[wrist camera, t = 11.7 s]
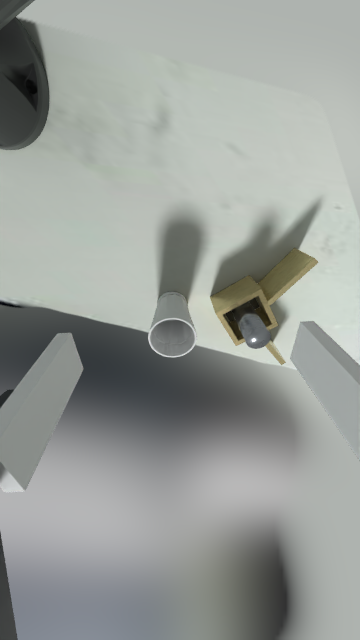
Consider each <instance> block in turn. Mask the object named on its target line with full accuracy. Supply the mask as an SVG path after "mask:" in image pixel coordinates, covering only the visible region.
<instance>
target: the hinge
mask: <svg viewBox="0 0 360 640" xmlns="http://www.w3.org/2000/svg"><path fill="white" fill-rule="evenodd" d="M317 263H318V261H317V260H316V259H315V258H313V257H311V256H309V255H307V254H305V253H303V252H301V251H299V250H297V249H296V248H294V249H293V250H292V251H291V252H290V253H289V254H288V255H287V256H286V257H285V258H284V259H283V260H282V261H281V262H280V263H278V264H277V265H276V266H275V267H274V268H273V269H272V270H271V271H270V272H269V273H268V274H267V275H266V276H265V277H264V278H263V279H262V280H261V281H260V282H259V283H258V284H257V283H256V282H255V281H254V280H253V279H252V278H251V276H250V275H248V276H247V277H245V278H243V279H241V280H239V281H238V282H236V283H234V284H232V285H231V286H229V287H227V288H225V289H223V290H222V291H220V292H218V293H216V294H215V295H213V296H211V297H210V298H211V301H212V304H213V307H214V310H215V313H216V315H217V316H218V318H219V320H220V321H221V323H222V324H223V326H224V328H225V329H226V331H227V332H228V334H229V336H230V337H231V339H232V340H233V342H234V344H235V345H236V346H237V345H239V344H241V343H243V342H245V339H244V337H243V335H242V333H241V331H240V328H239V326H238V324H237V322H236V320H234V321H232V322H230V321H229V319H228V318H227V316H226V314H225V313H227V312H229V311H231V310H232V309H234V308H236V307H238V306H240V305H242V304H244V303H246V302H247V301H249V300H251V299H253V298H256V300H257V302H258V304H259V306H260V307H259V308H257V309H255V311H256V313H257V314H258V316H259V317H260V319H261V320H262V322H263V323H264V325H265V326H266V328H267V329H268V330H270V329H272V328H274V327H276V326H279V325H278V323H277V321H276V319H275V317H274V315H273V313H272V311H271V308H270V306H269V305H271V304H273V303H274V302H275V301H276V300H277V299H278V298H279V297H280V296H281V295H283V294H284V293H285V292H286V291H287V290H288V289H289V288H290V287H291V286H293V285H294V284H295V283H296V282H297V281H298V280H299V279H300V278H302V277H303V276H304V275H305V274H306V273H307V272H308V271H309V270H310V269H312V268H313V267H314V266H315V265H316V264H317ZM265 346H266V347H267V349H268V350H269V351H270V352H271V353H272V354H273V356H274V357H275V358H276V359H277V360H278V361H279V363H280V364H281V365H282V364H284V363H286V362H285V361H284V359H283V357H282V356H281V354H280V353H279V351H278V350H277V348H276V347H275V345H274V343H273V342H272V341H271V340H270V341H269V343H268V344H267V345H265Z"/></svg>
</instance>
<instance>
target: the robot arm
mask: <svg viewBox="0 0 360 640" xmlns="http://www.w3.org/2000/svg"><path fill="white" fill-rule="evenodd" d="M33 1H34V0H0V149H4V150H16V149H21V148H24V147H26V146H28V145H30V144H31V143H33V142H34V141H35V140H36V139H37V138H38V136H39V135H40V134H41V132H42V130H43V128H44V126H45V123H46V120H47V116H48V110H49V91H48V83H47V78H46V74H45V70H44V67H43V64H42V61H41V58H40V56H39V54H38V51H37V49H36V47H35V45H34V43H33V41H32V40H31V38H30V36H29V34H28V33H27V31H26V30H25V28H24V27H23V25H22V24H21V23H20V22H19V20H18V19H17V18H16V16H17V15H18V14H19V13H20V12H22V10H24V9H25V8H26V7H27V6H29V5H30V4H31V3H32V2H33ZM290 359H291V361H292V362H293V364H294V365H295V367H296V368H297V370H298V371H299V373H300V374H301V375H302V377H303V378H304V380H305V381H306V383H307V384H308V386H309V387H310V389H311V390H312V391H313V393H314V395H315V396H316V398H317V399H318V400H319V402H320V403H321V405H322V406H323V408H324V409H325V411H326V412H327V414H328V415H329V417H330V418H331V420H332V421H333V422H334V424H335V425H336V427H337V428H338V430H339V431H340V433H341V434H342V436H343V437H344V438H345V440H346V441H347V443H348V444H349V446H350V447H351V449H352V450H353V452H354V453H355V455H356V456H357V457H358V459H359V461H360V365H359V364H358V363H357V362H356V361H355V360H354V359H352V358H351V357H350V356H349V355H348V354H347V353H346V352H345V351H344V350H343V349H342V348H341V347H340V346H339V345H338V344H337V343H336V342H335V341H334V340H333V339H332V338H331V337H330V336H329V335H327V334H326V333H325V332H324V331H323V330H322V329H321V328H320V327H319V326H318V325H317V324H316V323H315V322H314V321H308V322H300V325H299V329H298V332H297V336H296V339H295V343H294V346H293V350H292V354H291V357H290ZM82 371H83V367H82V363H81V360H80V357H79V355H78V352H77V349H76V346H75V343H74V340H73V337H72V334H71V333H58V334H57V335H56V336H55V337H54V339H53V340H52V341H51V343H50V344H49V345H48V347H47V348H46V349H45V350H44V352H43V353H42V354H41V356H40V357H39V359H38V360H37V361H36V362H35V364H34V365H33V366H32V368H31V369H30V370H29V371H28V373H27V374H26V375H25V377H24V378H23V379H22V381H21V382H20V383H19V385H18V386H17V387H16V389H15V390H7V391H6V392H4V393H3V394H2V395H1V396H0V488H1V489H2V490H3V491H4V492H20V491H25V490H26V488H27V486H28V484H29V482H30V480H31V478H32V476H33V474H34V471H35V469H36V467H37V465H38V463H39V461H40V459H41V457H42V455H43V453H44V451H45V448H46V446H47V444H48V442H49V440H50V438H51V436H52V433H53V432H54V430H55V427H56V425H57V423H58V421H59V419H60V417H61V415H62V413H63V411H64V409H65V407H66V404H67V402H68V400H69V398H70V396H71V394H72V392H73V390H74V387H75V385H76V383H77V381H78V379H79V377H80V375H81V373H82ZM0 640H17V633H16V627H15V620H14V614H13V608H12V602H11V595H10V589H9V583H8V577H7V571H6V564H5V558H4V552H3V546H2V540H1V533H0Z"/></svg>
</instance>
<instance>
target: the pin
mask: <svg viewBox="0 0 360 640" xmlns="http://www.w3.org/2000/svg"><path fill="white" fill-rule="evenodd" d="M231 311H232V313H233V316H234V318H235V320H236V322H237V324H238V326H239V328H240V331H241V333H242V335H243V337H244V339H245V341H246V343H247V345H248V346H249V347H251V348H254V349H257V348H262V347H264V346H265V345H267V344H268V343H269V341H270V339H271V335H270V332H269V331H268V329H267V328H266V326H265V325H264V323H263V322H262V320H261V319H260V317H259V316H258V314H257V313H256V311H255V310H254V308H253V307H252V305H251V303H250V302H249V301H247V302H246V303H244V304H242V305H240V306H238V307H236V308H234V309H232V310H231Z"/></svg>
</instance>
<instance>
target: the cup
mask: <svg viewBox="0 0 360 640" xmlns="http://www.w3.org/2000/svg"><path fill="white" fill-rule="evenodd" d="M148 340H149V344H150V345H151V347H152V349H153V350H154V351H155V352H157V353H158V354H160V355H162V356H166V357H179V356H182V355H185V354H186V353H188V352H189V351H191V350H192V349H193V347H194V346H195V344H196V340H197V335H196V331H195V328H194V325H193V322H192V320H191V317H190V313H189V310H188V305H187V301H186V299H185V297H184V296H183V295H182V294H180V293H178V292H167V293H164V294H163V295H162V296H161V297H160V298H159V300H158V303H157V308H156V311H155V315H154V318H153V322H152V325H151V328H150V331H149V335H148Z"/></svg>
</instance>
